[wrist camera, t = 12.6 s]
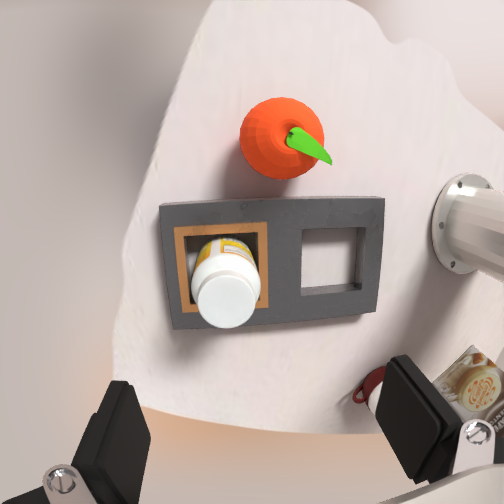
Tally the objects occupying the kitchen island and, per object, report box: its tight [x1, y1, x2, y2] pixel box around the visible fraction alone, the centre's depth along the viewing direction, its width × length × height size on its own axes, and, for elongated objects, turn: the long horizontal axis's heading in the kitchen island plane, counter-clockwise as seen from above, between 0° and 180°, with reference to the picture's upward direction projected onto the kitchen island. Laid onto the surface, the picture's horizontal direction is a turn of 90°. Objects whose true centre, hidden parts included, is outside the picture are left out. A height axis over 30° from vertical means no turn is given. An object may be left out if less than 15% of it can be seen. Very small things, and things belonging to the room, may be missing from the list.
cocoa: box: [353, 366, 386, 415], centre depth 31 cm, size 10×6×12 cm, turn 74°
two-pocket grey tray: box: [159, 196, 385, 329], centre depth 30 cm, size 21×12×2 cm, turn 92°
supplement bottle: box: [191, 236, 261, 328], centre depth 26 cm, size 5×5×10 cm
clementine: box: [239, 97, 332, 180], centre depth 24 cm, size 8×7×7 cm
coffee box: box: [433, 345, 504, 438], centre depth 31 cm, size 9×6×16 cm
